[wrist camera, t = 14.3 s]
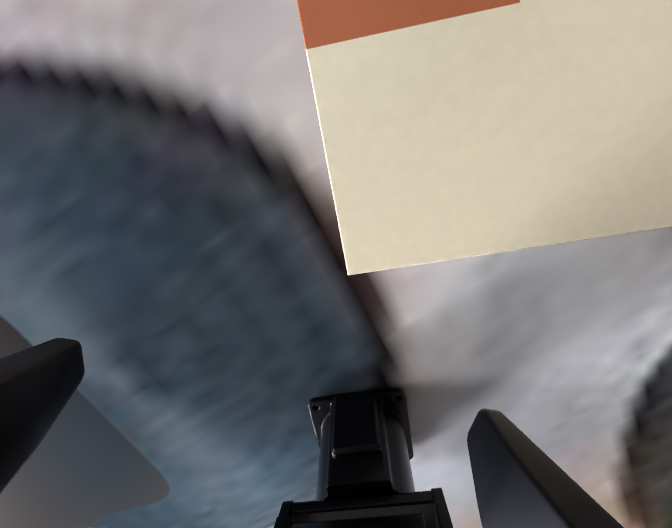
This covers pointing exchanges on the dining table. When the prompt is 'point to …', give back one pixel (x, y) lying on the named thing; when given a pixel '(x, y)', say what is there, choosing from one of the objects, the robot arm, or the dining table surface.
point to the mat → (490, 123)
